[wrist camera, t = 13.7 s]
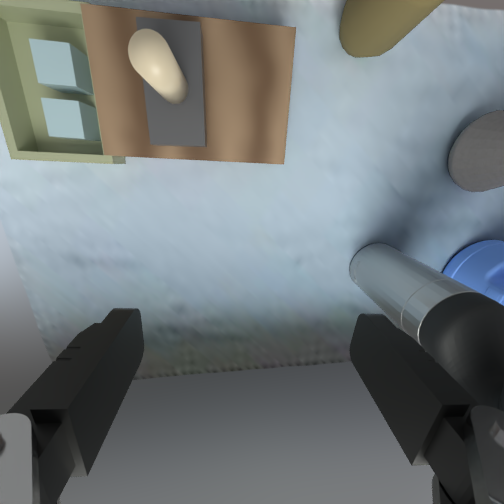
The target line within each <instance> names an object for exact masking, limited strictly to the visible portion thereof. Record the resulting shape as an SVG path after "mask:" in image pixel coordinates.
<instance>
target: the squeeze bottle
mask: <svg viewBox="0 0 504 504" xmlns="http://www.w3.org/2000/svg"><path fill="white" fill-rule="evenodd" d="M443 1H444V0H347V1H346V4H345V7H344V10H343V15H342V19H341V23H340V37H339V38H340V41H341V44H342V47H343V49H344V50H345V51H346V52H347V53H348V54H349V55H351V56H353V57H372V56H380V55H382V54H383V53H385V52H387V51H388V50H390V49H391V48H393V47H394V46H395V45H396V44H397V43H398V42H399V41H400V40H401V39H402V38H404V37H405V36H406V35H407V34H408V33H409V32H410V31H411V30H412V29H414V28H415V27H416V26H417V25H418V24H419V23H420V22H421V21H422V20H423V19H425V18H426V17H427V16H428V15H429V14H430V13H431V12H432V11H433V10H434V9H436V8H437V7H438V6H439V5H440V4H441V3H442V2H443Z"/></svg>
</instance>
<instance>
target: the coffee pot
mask: <svg viewBox="0 0 504 504" xmlns="http://www.w3.org/2000/svg"><path fill="white" fill-rule="evenodd" d="M448 168H449V173H450V176H451V178H452V179H453V181H454V182H455V183H456V184H457V185H458V186H460V187H461V188H462V189H464V190H467V191H471V192H483V191H486V190H490V189H494V188H497V187H501V186H504V110H501V111H494V112H491V113H488V114H485V115H483V116H482V117H480V118H478V119H477V120H475V121H473V122H472V123H470V124H469V125H468V126H467V127H466V128H465V129H464V130H463V131H462V132H461V134H460V135H459V136H458V138H457V139H456V140H455V142H454V144H453V146H452V148H451V150H450V154H449V158H448Z"/></svg>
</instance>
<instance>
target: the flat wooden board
mask: <svg viewBox="0 0 504 504" xmlns="http://www.w3.org/2000/svg"><path fill="white" fill-rule="evenodd" d="M80 6H81V12H82V18H83V24H84V31H85V37H86V43H87V50H88V56H89V62H90V68H91V75H92V81H93V87H94V93H95V100H96V106H97V112H98V119H99V125H100V131H101V137H102V144H103V150H104V155H110V156H129V157H149V158H168V159H188V160H208V161H227V162H247V163H267V164H284V158H285V147H286V135H287V124H288V113H289V102H290V90H291V79H292V68H293V57H294V45H295V34H296V27H287V26H278V25H269V24H260V23H251V22H243V21H234V20H225V19H216V18H207V17H198V16H189V15H181V14H172V13H163V12H154V11H145V10H136V9H127V8H119V7H110V6H101V5H92V4H83V3H80ZM136 17H145V18H157V19H169V20H181V21H194V22H200V24H201V29H202V34H203V56H204V82H205V107H206V133H207V147H182V146H156V145H151V144H150V137H149V128H148V119H147V111H146V102H145V93H144V85H143V77H142V76H141V75H140V74H139V73H138V72H137V71H136V70H135V69H134V67H133V66H132V64H131V62H130V59H129V54H128V45H129V41H130V39H131V37H132V35H133V34H134V33H135V32H137V25H136Z"/></svg>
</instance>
